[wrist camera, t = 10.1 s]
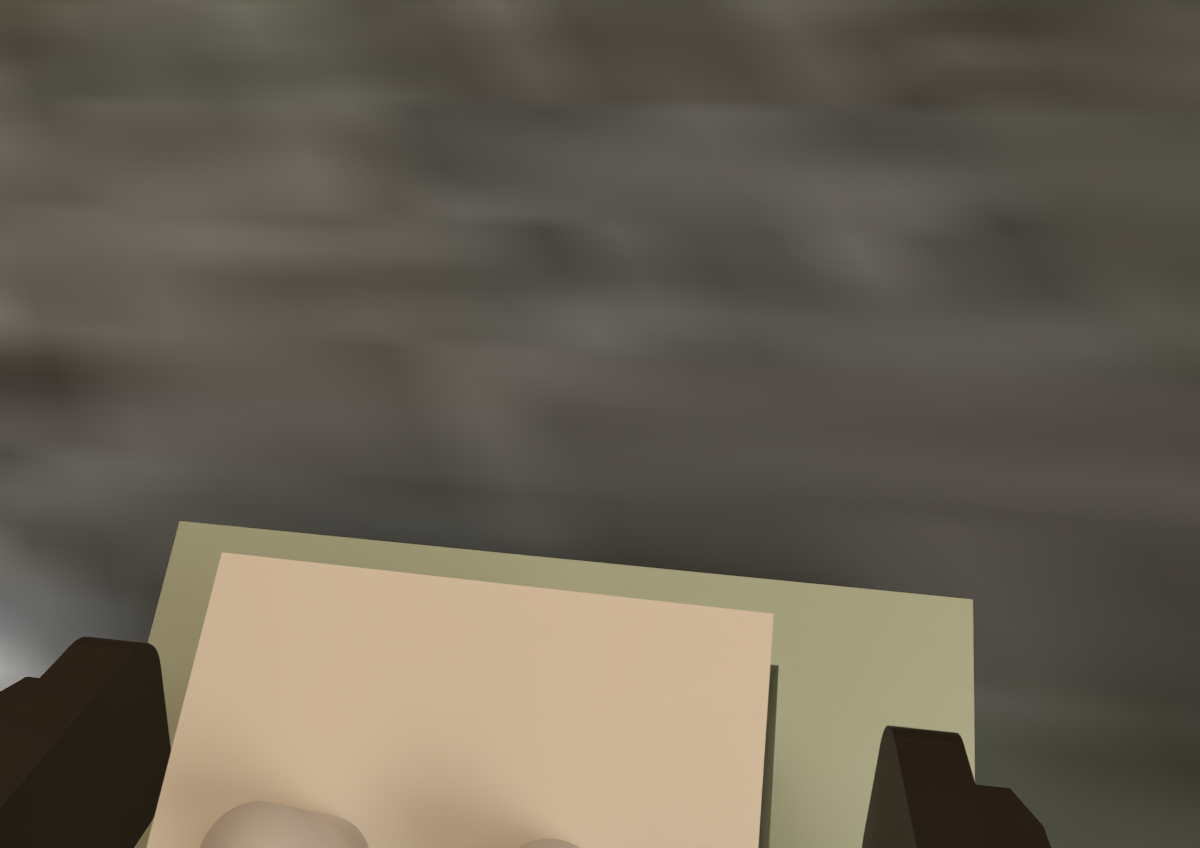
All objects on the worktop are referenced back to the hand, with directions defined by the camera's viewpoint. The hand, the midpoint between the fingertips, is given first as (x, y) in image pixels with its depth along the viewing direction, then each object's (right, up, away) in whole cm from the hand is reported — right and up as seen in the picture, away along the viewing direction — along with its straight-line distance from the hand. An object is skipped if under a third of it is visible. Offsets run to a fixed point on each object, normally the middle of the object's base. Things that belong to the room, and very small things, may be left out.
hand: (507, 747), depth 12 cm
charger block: (0, -4, +5) cm, 6 cm away
